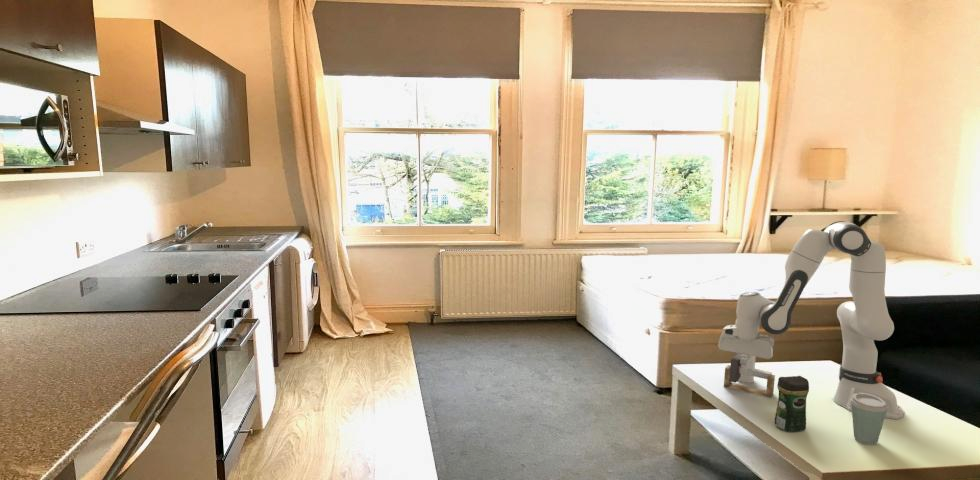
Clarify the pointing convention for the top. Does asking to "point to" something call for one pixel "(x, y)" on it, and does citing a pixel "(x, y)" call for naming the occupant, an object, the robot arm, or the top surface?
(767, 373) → the light grey long bar
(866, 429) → the disposable coffee cup
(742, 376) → the cylindrical container
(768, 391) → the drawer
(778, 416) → the coffee jar
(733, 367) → the collar
